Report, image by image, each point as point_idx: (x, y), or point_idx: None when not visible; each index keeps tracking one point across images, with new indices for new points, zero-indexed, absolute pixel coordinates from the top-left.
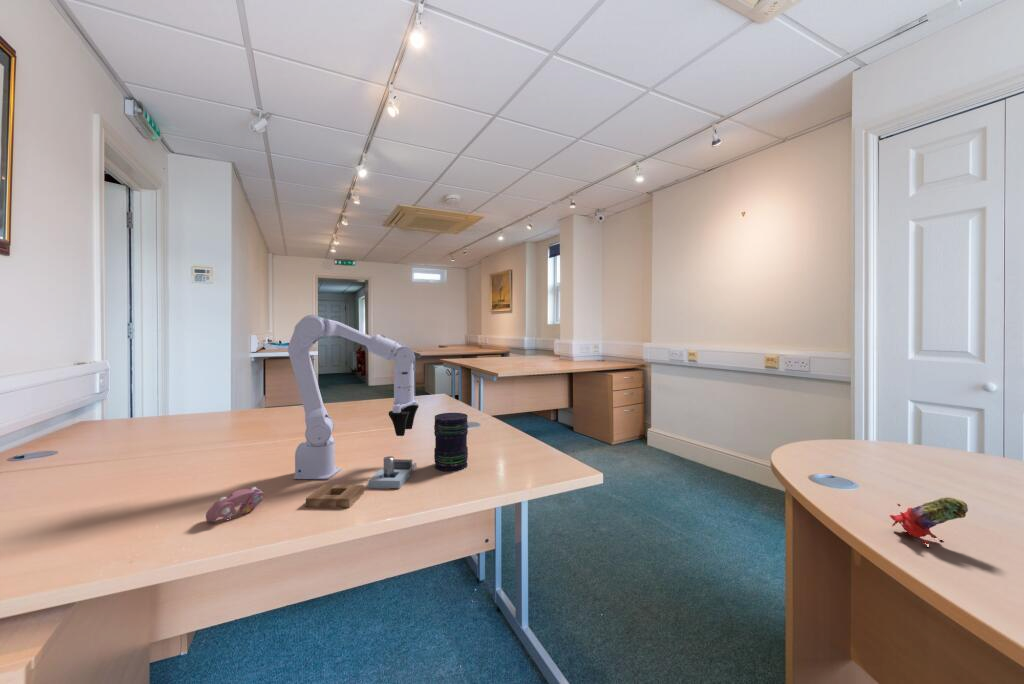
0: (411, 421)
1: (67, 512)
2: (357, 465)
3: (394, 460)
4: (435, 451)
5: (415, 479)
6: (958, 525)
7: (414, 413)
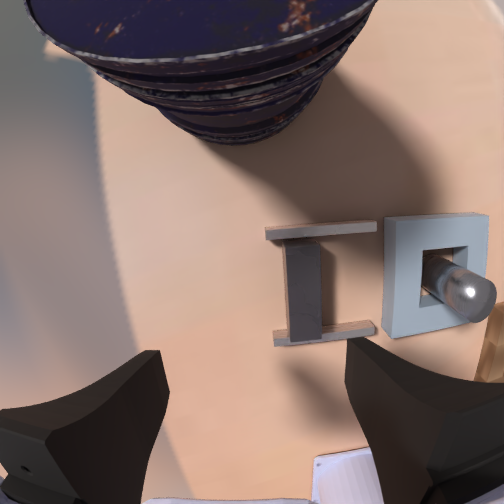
0: (137, 383)
1: None
2: (271, 437)
3: (304, 326)
4: (290, 115)
5: (404, 182)
6: None
7: (97, 407)
